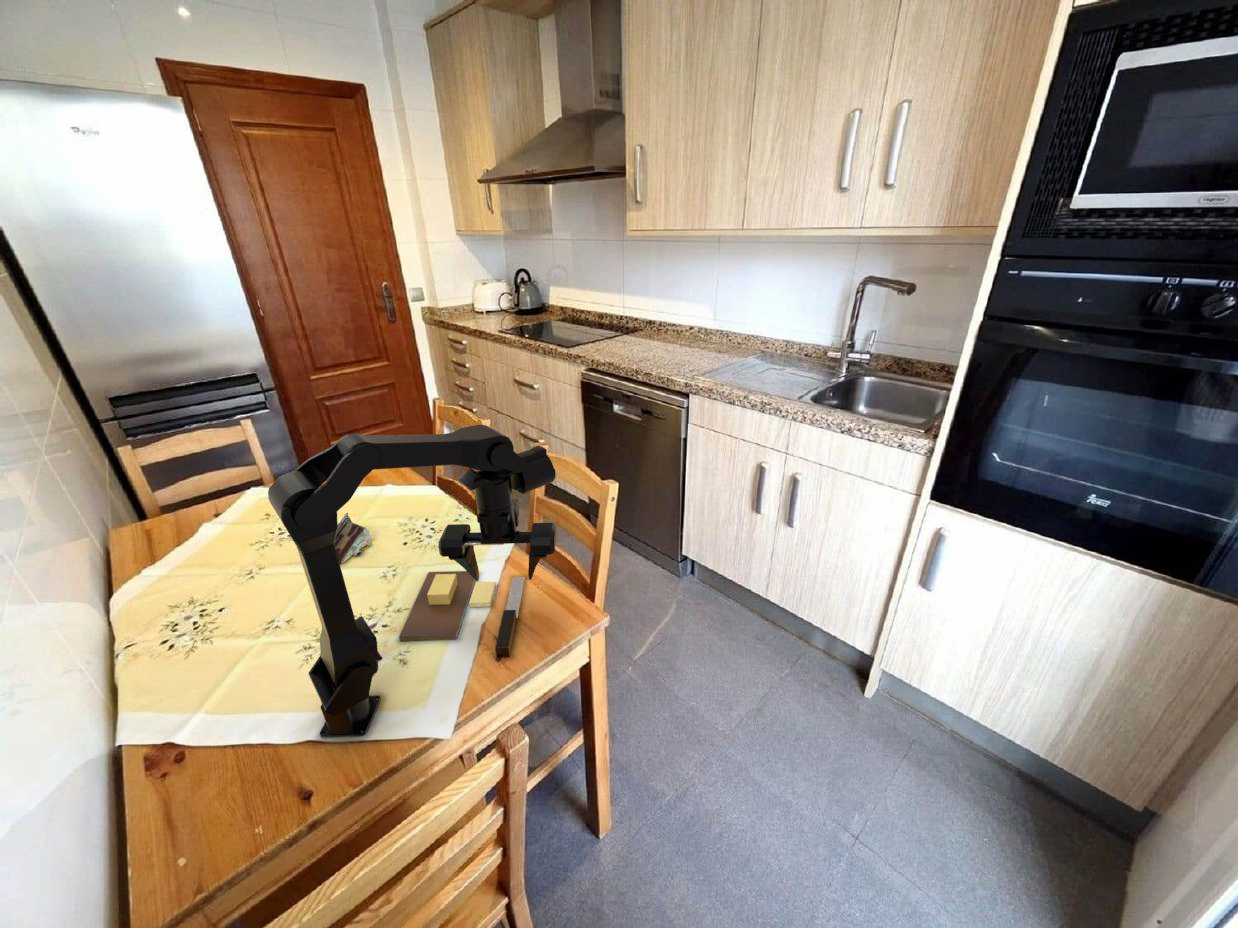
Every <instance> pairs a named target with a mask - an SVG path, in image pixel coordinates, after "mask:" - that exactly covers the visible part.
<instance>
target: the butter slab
mask: <svg viewBox="0 0 1238 928" xmlns="http://www.w3.org/2000/svg"><path fill="white" fill-rule="evenodd" d="M496 588H497V583H496V581H475V583H474V586H473V589H472V592H471V596H470V599H469V602H468V605H469V608H491V607H492V602H493V599H494V595H495V592H496Z"/></svg>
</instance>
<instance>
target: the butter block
mask: <svg viewBox="0 0 1238 928" xmlns="http://www.w3.org/2000/svg"><path fill="white" fill-rule="evenodd" d="M457 584H458V583H457V577H456V574H436V575H435V578H434V580H433V582H432V584H431V587H430V589H429V591H428V594H427V597H428V602H429V605H439V604H450V603H451V600H452V598H453V595H454V592H455V590H456V587H457Z"/></svg>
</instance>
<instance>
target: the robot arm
mask: <svg viewBox="0 0 1238 928" xmlns="http://www.w3.org/2000/svg"><path fill="white" fill-rule="evenodd" d="M514 448H515V447H514V443H513V441H512V440H511V438H510V437H509V436H507V435H505V434H503V433H501V432H499V431H498V430H496V429H494V428H493V427H490V426H488V425H486V424H475V425H469V426H464V427H460V428H458V429H456V430H454V431H453V432H448V433H447V432H446V433H430V434H428V433H427V434H425V433H424V434H423V433H422V434H419V433H418V434H360V433H349V434H346V435H344V436H342V437H341V438H340V439H339V440H337V441H336V442H335V443H334V444H333V445H332V446H330V447H328V448H326V449H325V450H323V451H320V452H319V453H317V454H314V455H313V456H311V457H310V458H308V459H306V460H304V461H303V462H302V463H301V464H300V465H298V467H297V468H296V469H294V470H292V471H290V472H288V473H285V474H282V475H280V476H279V477H278V478H276V479H275V480H274V481H273V483H272V484H271V485H270V486H269V487H268V491H267V496H268V497H267V498H268V501H269V503H270V505H271V506H272V508H273V509H274V511H275V513H276V514H277V516H278V518H279V520H280V521H281V523H282V525H283V526H284V528H285V530H286V531H287V533H288V535H289V536H290V537H291V540H292V542H294V545H295V546H296V549H297V552H298V555H299V557H300V559H299V560H300V562H301V565H302V568H303V571H304V574H305V577H306V581H307V583H308V586H309V591H310V593H311V596H312V599H313V602H314V607H315V609H316V611H317V615H318V618H319V621H320V624H321V632H320V636H319V650H320V652H319V653H320V655H319V656H318V658H317V660H316V661H315V662H314V664H313V665H312V667H311V668H310V670H309V672H308V677H309V679H310V680H311V683H312V686H313V687H314V689H315V691H316V693H317V695H318V698H319V700H320V703H321V705H320V710H321V713H322V716H323V718H324V720H325V722H324V724H323V726H322V728H321V730H320V732H319V737H320V738H343V737H344V738H345V737H346V738H347V737H363V736H365V735H366V734H367V732H368V730H369V728H370V724H371V723H372V721H373V718H374V716H375V714H376V711H377V709H378V708H379V704H380V702H381V700H382V699H381V696H380V695H370V692H371V686H372V681H373V678H374V676H375V675H376V674H377V673H378V671H379V661H382V660H383V656H382V655H381V654H380V652H379V650H378V639H377V636H376V635H375V633H374V632H373V630H372V629H371V628H370V626H369V625H368V622H367V621H366V619H365V618H364V616H362V615H361V616H358V617H357V618H355V614H354V611H353V607H352V603H351V599H350V596H349V592H348V589H347V585H346V582H345V578H344V575H343V571H342V568H341V564H340V563H339V560H338V556H337V553H336V549H335V539H336V534H337V530H338V523H339V522H338V511H340V510H341V509H342V508H343V507H344V506H345V505H346V504H347V503H348V502H349V501H350V500H351V499H352V497H353V496H354V494H355V493H356V491H357V489H358V488H359V487H360V485H361V483H362V482H363V480H364V479H365V478H366V477H367V476H368V475H369V474H370V473H371V472H372V471H374V470H375V471H376V470H391V469H407V468H408V469H409V468H423V467H424V468H426V467H441V466H457V467H458V466H459V467H463V468H467V471H466V472H465V473H464V474H462V475H461V477H460V478H459V479H458V480H459V483H460V484H462V485H463V486H464V487H466V488H467V489H468V490H470V491H473V490H474V496H475V502H476V509H477V510H476V511H477V516H476V520H477V524H479V530H480V531H479V532H478V531H477V532H475V531H474V532H472V530H471V525H470V524H468V523H457V524H455V523H454V524H452V523H451V524H447V525H446V526H445V527H444V529H443V531H442V534H441V536H440V538H439V540H438V544H437V545H438V552H439V555H440V556H441V557H442V558H443V557H444V558H445V557H448V560H450V561H455V562H456V563H457V564H458V565H459V566H461V567H462V568H463V569H464V571H467V572H468V573H469V574H470V575H471V576H472V577H473V578H474V579H475V582H479V580H480V570H479V565H478V562H477V556H476V553H475V546H503V545H508V544H510V545H511V544H529V553H528V569H527V570H528V571H527V572H528V573H527V575H528V580H529V581H530V580H532V579H533V577H534V573H535V572H536V571H535V570H536V568H537V566H538V565H539V562H540V561H541V559H546V558H547V557H548V555H552V554H555V552H556V545H557V537H558V536H557V535H558V533H557V526H556V524H555V523H553V522H532V526H531V530H517V527H519V524H520V522H519V521H520V520H519V518H520V505H519V504H520V503H519V498H513V490H514V491H517V492H518V493H520V494H526V493H529V492H532V491H535V490H538V489H539V488H541V487H544V486H547V485H550V484H552V483H553V482H555V480H556V474H557V473H556V469H555V467H554V464H553V462H552V459H551V458H550V457H549V455H547V454H548V451H547V449H546V448H545V447H543V446H541V445H539V444H538V445H536V446H535V445H534V446H533V447H531V448H530V449H527V450H525V451H521V452H519V453H517V452H515V450H514Z"/></svg>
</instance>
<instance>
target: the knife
mask: <svg viewBox="0 0 1238 928" xmlns="http://www.w3.org/2000/svg"><path fill="white" fill-rule="evenodd" d="M525 580H526V576H513V577H512V580H511V585H510V588H509V593H508V599H507V602H506V603H507V604H506V607H505V609H503V611H502V615H501V621H500V625H499V629H498V635H497V638H496V642H495V647H494V648H495V655H496V656H495V657H496V658H498V659H500V658H501V659H502V658H510V657H511V653H512V652H511V651H512V646H513V641H514V636H515V630H516V625H517V620H518V619H519V613H520V610H521V609H520V608H521V603H522V599H523V591H524V586H525V582H526V581H525Z"/></svg>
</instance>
